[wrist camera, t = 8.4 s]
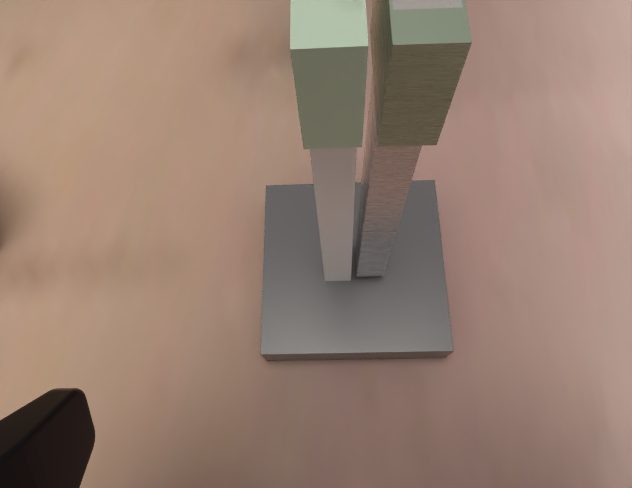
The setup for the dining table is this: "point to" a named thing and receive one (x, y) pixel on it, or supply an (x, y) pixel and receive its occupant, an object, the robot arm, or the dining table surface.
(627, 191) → the dining table surface
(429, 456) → the dining table surface
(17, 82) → the dining table surface
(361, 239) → the swinging tong arm
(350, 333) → the stand
